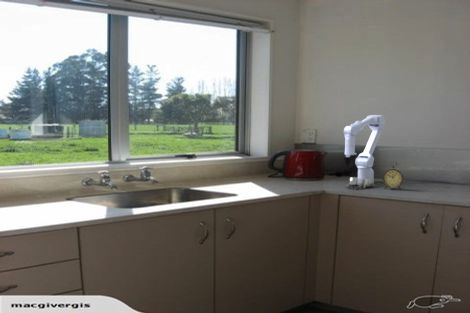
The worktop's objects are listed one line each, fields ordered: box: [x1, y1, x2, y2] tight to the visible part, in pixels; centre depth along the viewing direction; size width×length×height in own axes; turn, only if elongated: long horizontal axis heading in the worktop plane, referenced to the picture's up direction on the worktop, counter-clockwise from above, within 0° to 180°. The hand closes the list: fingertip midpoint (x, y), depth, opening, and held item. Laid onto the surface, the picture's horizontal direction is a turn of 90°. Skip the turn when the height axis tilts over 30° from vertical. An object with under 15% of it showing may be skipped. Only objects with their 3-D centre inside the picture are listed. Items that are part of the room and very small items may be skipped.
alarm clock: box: [382, 160, 404, 191], centre depth 234 cm, size 11×5×16 cm, turn 62°
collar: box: [349, 176, 358, 186], centre depth 237 cm, size 4×4×6 cm
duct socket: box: [345, 177, 375, 190], centre depth 239 cm, size 18×9×5 cm, turn 117°
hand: (349, 168), depth 250 cm, fingers open, 7 cm apart
